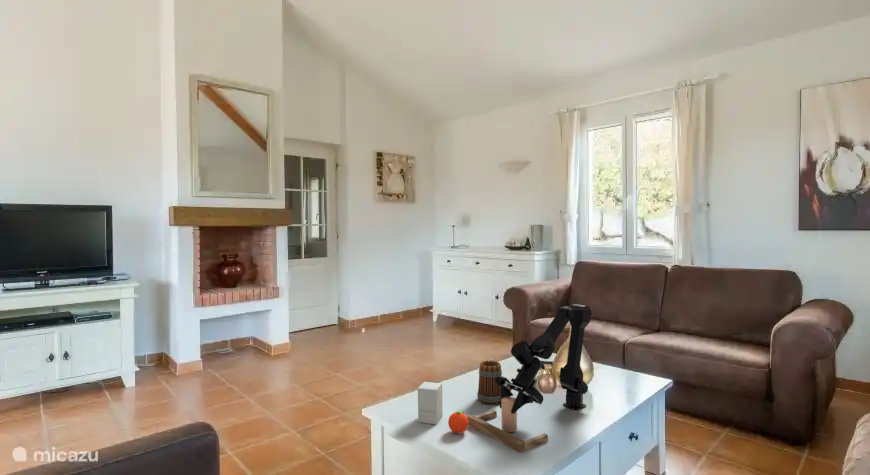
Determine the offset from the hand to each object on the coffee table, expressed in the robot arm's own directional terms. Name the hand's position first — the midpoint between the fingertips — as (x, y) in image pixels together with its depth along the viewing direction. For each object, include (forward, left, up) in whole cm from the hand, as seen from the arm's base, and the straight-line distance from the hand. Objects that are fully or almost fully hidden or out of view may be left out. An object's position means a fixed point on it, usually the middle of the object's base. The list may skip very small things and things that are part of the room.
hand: (506, 410), depth 160 cm
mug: (-17, -26, -8) cm, 32 cm away
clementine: (+13, -10, -8) cm, 18 cm away
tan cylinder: (-1, 0, -7) cm, 7 cm away
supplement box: (+15, -24, -8) cm, 29 cm away
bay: (0, 0, -7) cm, 8 cm away
